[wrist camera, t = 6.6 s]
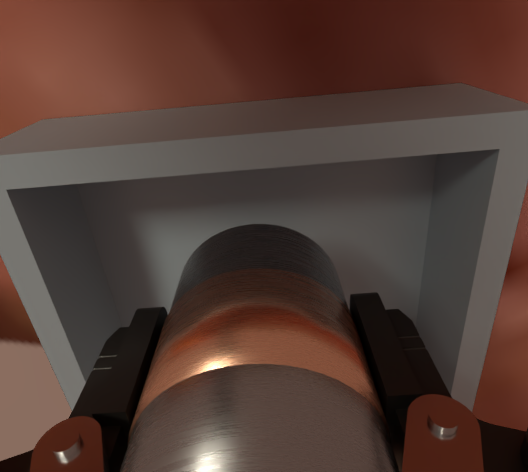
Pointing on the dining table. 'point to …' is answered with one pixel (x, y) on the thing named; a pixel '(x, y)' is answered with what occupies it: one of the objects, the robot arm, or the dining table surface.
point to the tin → (259, 367)
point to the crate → (270, 209)
